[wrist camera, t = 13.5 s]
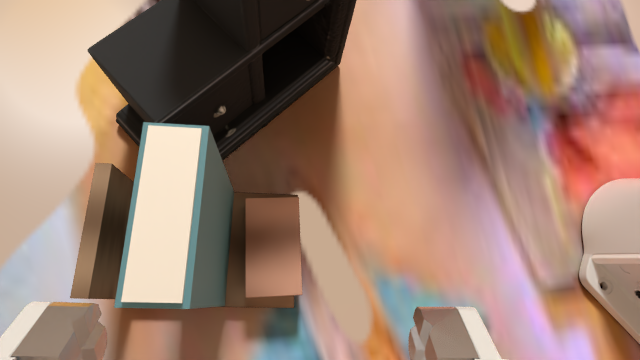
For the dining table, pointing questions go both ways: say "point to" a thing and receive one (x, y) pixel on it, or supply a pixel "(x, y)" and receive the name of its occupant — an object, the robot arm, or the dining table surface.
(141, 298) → the book
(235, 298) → the shelf
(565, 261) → the dining table surface
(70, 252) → the dining table surface
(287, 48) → the black drawer cabinet
